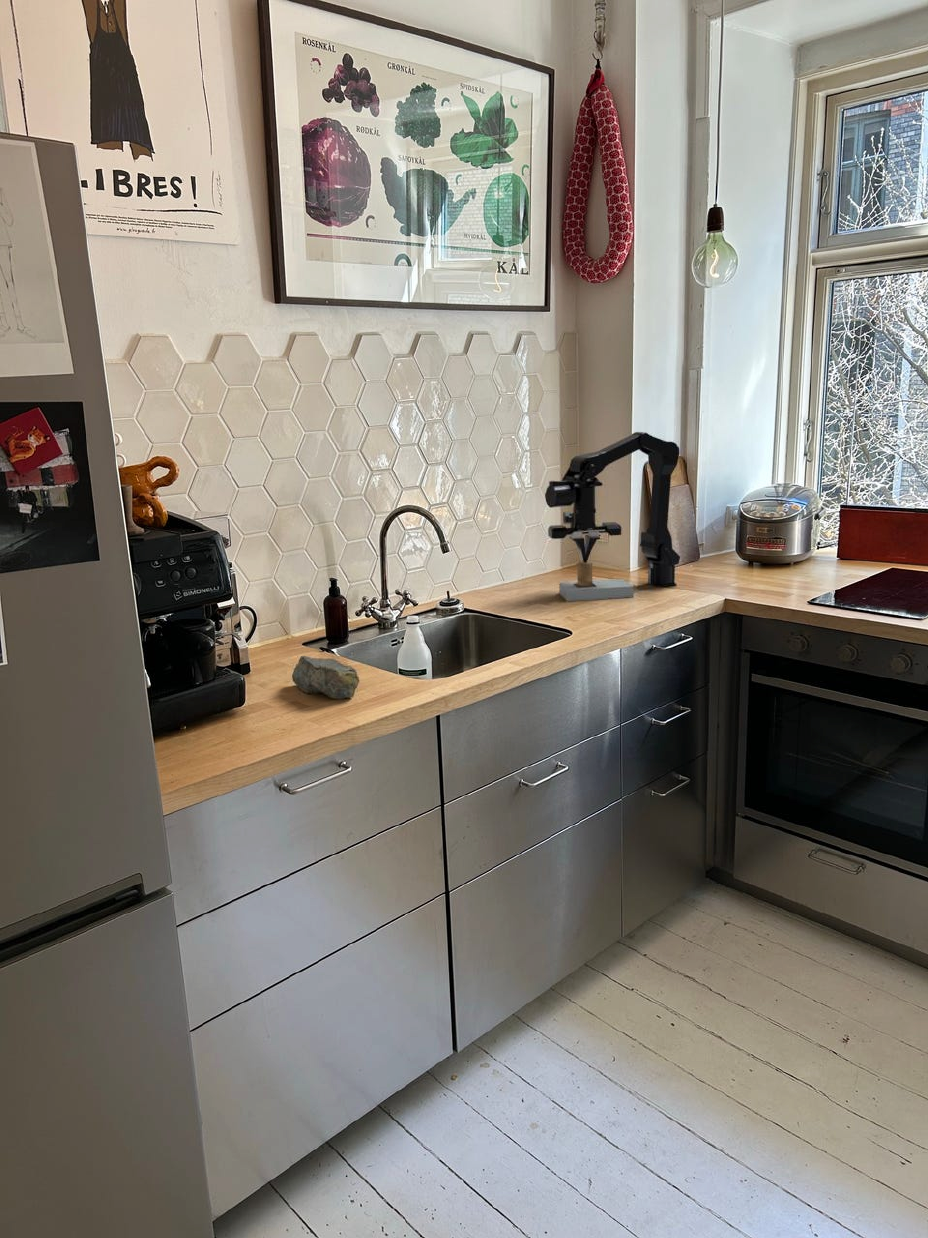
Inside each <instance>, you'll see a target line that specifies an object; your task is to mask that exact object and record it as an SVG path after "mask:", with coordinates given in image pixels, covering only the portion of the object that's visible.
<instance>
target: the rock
mask: <svg viewBox="0 0 928 1238" xmlns="http://www.w3.org/2000/svg"><path fill="white" fill-rule="evenodd" d="M291 679H292V682H293V683H294V684H295V685H296V686H297V687H298V688H299V689H300V690H301V691H302V692H304V693H306V694H318V695H319V694H325V695H326V696H327V697H329V698H330V699H333V700H337V701H342V700H344V699H347V698H348V699H349V698H353V697H354V696H355V692H356V689H357V688H358V686H359V683H360V677H359V676H358V671H357V670H356V668H354V667H353V666H351V665H345V664H343V663H341V662H340V661H338V660H337V659H336V658H335V659H334V658H323V657H322V658H320V657H318V658H315V657H310V656H306V655H301V656H300V658H299V659H298V663H296V665H295V667H294V668H293V672H292V675H291Z"/></svg>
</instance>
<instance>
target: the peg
mask: <svg viewBox="0 0 928 1238" xmlns="http://www.w3.org/2000/svg"><path fill="white" fill-rule="evenodd" d="M576 566H577V568H576V569H577V571H576V573H577V577H576V578H577V581H576V582H578V584H577V586H578V588H581V587H592V586H593V584H592V581H593V562H591V561H587V562H586V563H584V562H583V561H580V562H577V565H576Z"/></svg>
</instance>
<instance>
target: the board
mask: <svg viewBox="0 0 928 1238" xmlns="http://www.w3.org/2000/svg"><path fill="white" fill-rule="evenodd" d="M577 584H578V581H566V582H565V581H563V582H559V585H558V586H559V587H558V588H559V590H558V591H559V593H558V594H560V596H561V597H562V598H563V599H564V600H565V601H566V602H577V601H579V602H580V601H593V600H594V601H595V600H609V598H613V599H626V598H625V597H629V598H634V585H632V584H631V583H630V582H628V580H626V579H624V578H614V579H598V580H597V579H595V580H592V584H593V586H592V587H581V588H578V586H577Z"/></svg>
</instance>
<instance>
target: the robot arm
mask: <svg viewBox="0 0 928 1238" xmlns="http://www.w3.org/2000/svg"><path fill="white" fill-rule="evenodd" d="M637 451H640V452H641V453H643V454H644V455H647V458H648V465H649V468H650V470H651V473H652V483H651V495H650V496H651V497H650V510H649V513H650V514H649V526H648V528H647V529H646V531H645V532H644V531H641V534H640V543H639V547H641V548H640V549H641V552H642V554H643V555H644V556H645V559H646V562H647V563H648V562H649V567H648V568H647V583H648V584H649V585H651V586H653V587H654V588H657V587H659V588H661V587H674V586H678V585H677V584H678V583H676V582H675V581H676V580H675V579H676V578H675V577H676V573H675V572H676V565H679V563H680V559H681V556H680V555H679V554H678V553H677V551H675V550H674V548H673V541H672V540H673V539H672V538H673V537H672V535H671V533H670V530H669V528H668V523H669V522H668V521H669V510H670V497H671V496H670V495H671V481H672V474H673V473H674V471H675V469H676V468H677V466H678V462H679V457H680V451H681V450H680V446H678V444H677V443H676V442H674V441H666V440H665V439H661V438H658V437H656V436H653V435H651V434H649V433H647V432H644V431H636V432H635V431H634V432H633V433H631V435H628V436H627V437H624V438H622V439H620V440H618V441H616V442H615V443H612V444H611V445H608V446H606V447H604V448H601V449H600V450H598V451H592V452H587V453H582V454H579V455H576V456H574V457H572V459H571V460H570V464H569V466H568V469H567V470H566V472H565V473H564V474H563V477H562V479H561V480H550V481H549V482H548V486H547V487H546V490H545V493H544V498H545V503H546V504H547V506H548V507H549V508H559V507H570V506H572V505H573V507H572V512H571V511H563V513H562V522H563V524H564V525H563V524H559V525H558V524H556V525H549V527H548V530H547V535H548V537H549V538H550V539H551V540H552V539H553V540H558V539H559V540H560V539H565V538H566V537H567V536H568V535H569V539H571V540H572V541H573V542H575V544H576V546H577V549H578V551H579V554H580V558H581V560H582V562H584V563H586V562H588V560H589V558H590V556H591V553H592V549H593V547H594V546H595V544H596V542H597V540H598V541H599V540H601V537H600V534H603V533H604V534H605V533H607V534H608V535H609V536H612V537H613V536H621V535H622V526H621V525H620V524H619V523H618V522H615V521H611V522H609V521H608V522H602V524H601V525H596V513H597V512H596V511H597V510H596V487H602V486H603V485H604V484H603V482H602V481H600V480H599V479H598V477H597V476H598V475H600V474H601V473H602V472H603V471H604V470H605V469H606V467H608V466H609V465H611V464H613V463H614V462H617V461H619V460H620V459H622V458H625V457H626V456H629V455H631V454H633V453H634V452H635V453H636V452H637ZM565 525H570V526H569V527H566V526H565ZM584 534H585V535H584ZM583 535H584V537H583Z"/></svg>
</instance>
